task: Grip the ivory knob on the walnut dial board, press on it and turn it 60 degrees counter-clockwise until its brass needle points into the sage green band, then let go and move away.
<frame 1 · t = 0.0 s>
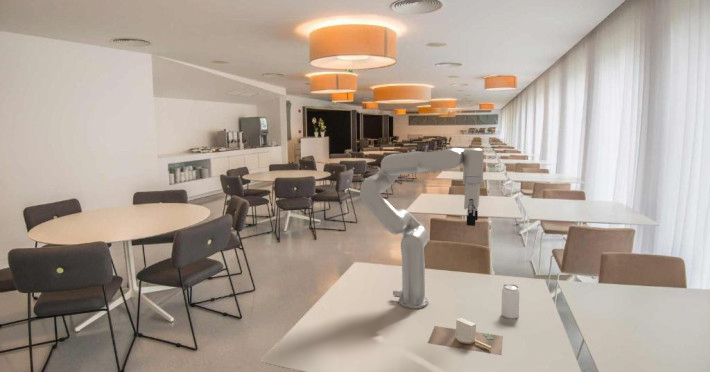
hand: (472, 222, 168), 37 cm above the table, tool pointing down, fingers open, 9 cm apart
can: (509, 316, 168), on the table
knob: (473, 333, 144), point 5 cm above the table, hinge at -30.0°
dial board: (465, 343, 147), on the table
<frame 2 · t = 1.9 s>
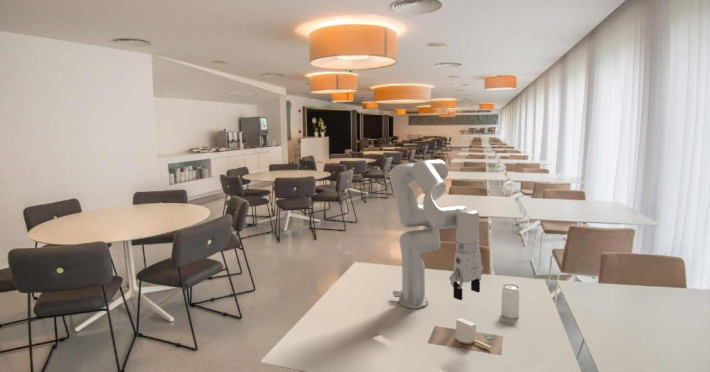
hand: (466, 294, 144), 18 cm above the table, tool pointing down, fingers open, 9 cm apart
nothing on the table moved.
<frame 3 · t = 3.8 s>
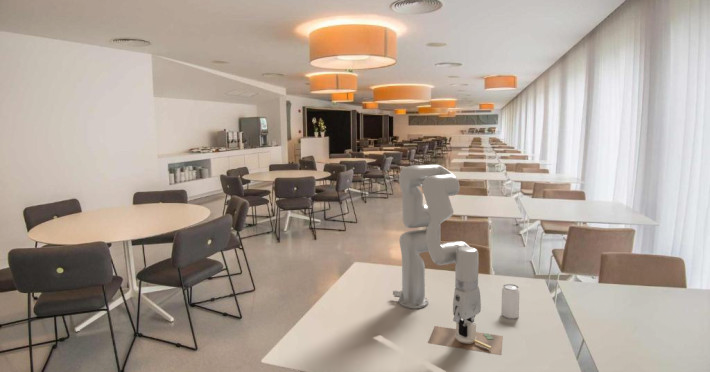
hand: (465, 333, 147), 4 cm above the table, tool pointing down, fingers closed on knob, 2 cm apart
knob: (473, 333, 144), point 5 cm above the table, hinge at -30.0°, touching gripper
everything else where it was.
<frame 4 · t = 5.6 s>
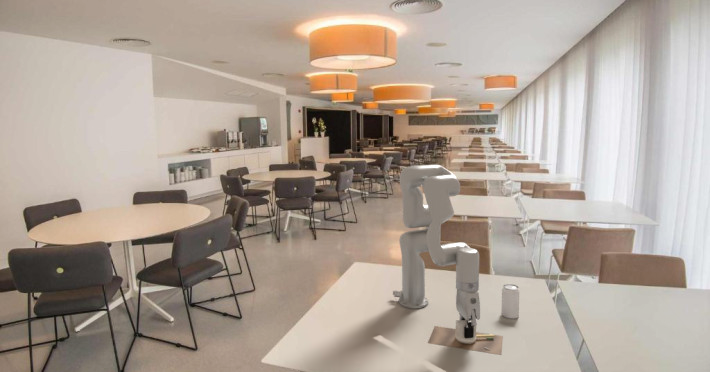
hand: (466, 334, 147), 3 cm above the table, tool pointing down, fingers closed on knob, 2 cm apart
knob: (475, 329, 147), point 5 cm above the table, hinge at 22.7°, touching gripper
everything else where it was.
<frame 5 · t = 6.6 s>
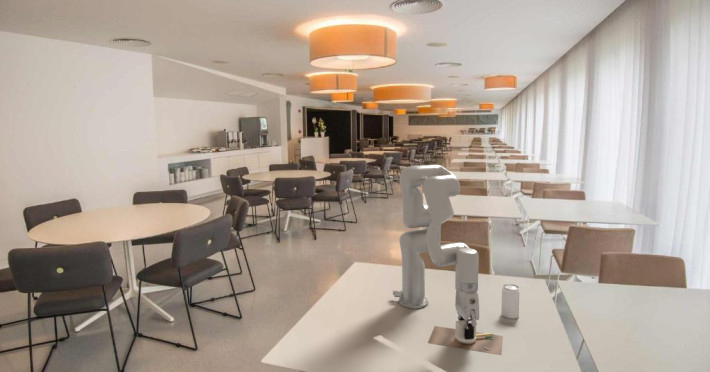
hand: (465, 334, 147), 3 cm above the table, tool pointing down, fingers open, 4 cm apart
knob: (474, 329, 147), point 5 cm above the table, hinge at 29.8°
everything else where it was.
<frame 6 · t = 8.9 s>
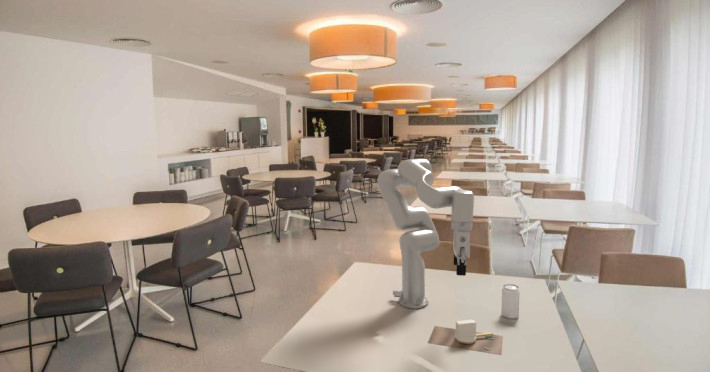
hand: (459, 269, 154), 23 cm above the table, tool pointing down, fingers open, 9 cm apart
knob: (474, 329, 147), point 5 cm above the table, hinge at 30.5°
everything else where it was.
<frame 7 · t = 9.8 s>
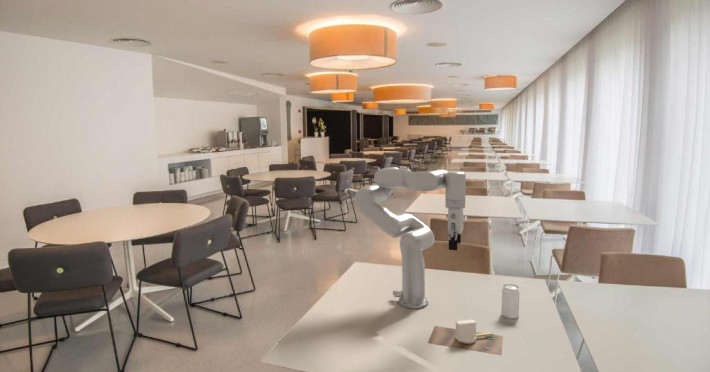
hand: (454, 246, 165), 28 cm above the table, tool pointing down, fingers open, 9 cm apart
nothing on the table moved.
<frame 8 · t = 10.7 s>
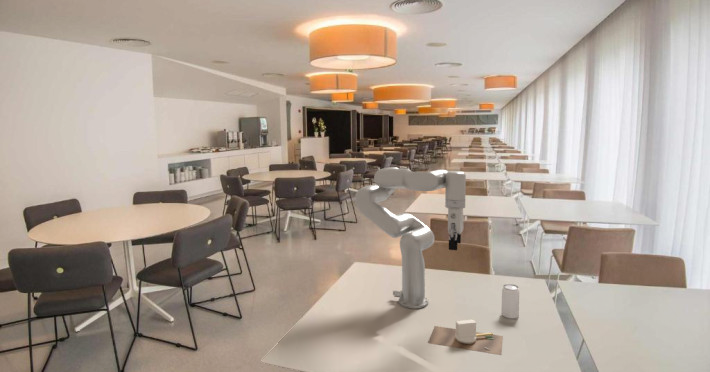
hand: (454, 246, 165), 28 cm above the table, tool pointing down, fingers open, 9 cm apart
nothing on the table moved.
at the end: knob at +30° (first picture: -30°); the gripper is holding nothing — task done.
